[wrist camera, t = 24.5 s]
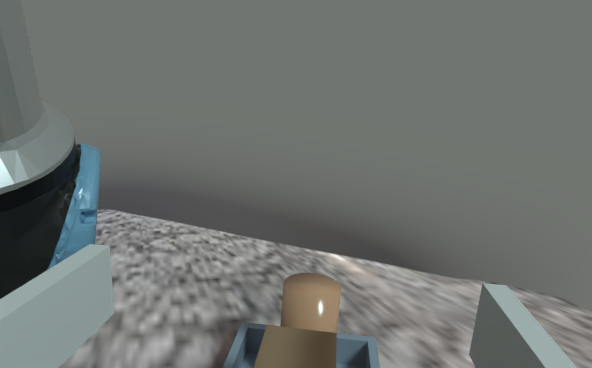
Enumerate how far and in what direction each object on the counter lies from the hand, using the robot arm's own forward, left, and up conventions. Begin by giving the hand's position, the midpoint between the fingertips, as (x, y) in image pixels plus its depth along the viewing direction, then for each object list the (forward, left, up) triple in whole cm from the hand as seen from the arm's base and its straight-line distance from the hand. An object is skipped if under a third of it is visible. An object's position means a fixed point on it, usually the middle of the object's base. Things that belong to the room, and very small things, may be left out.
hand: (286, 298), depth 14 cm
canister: (0, +18, -19) cm, 26 cm away
